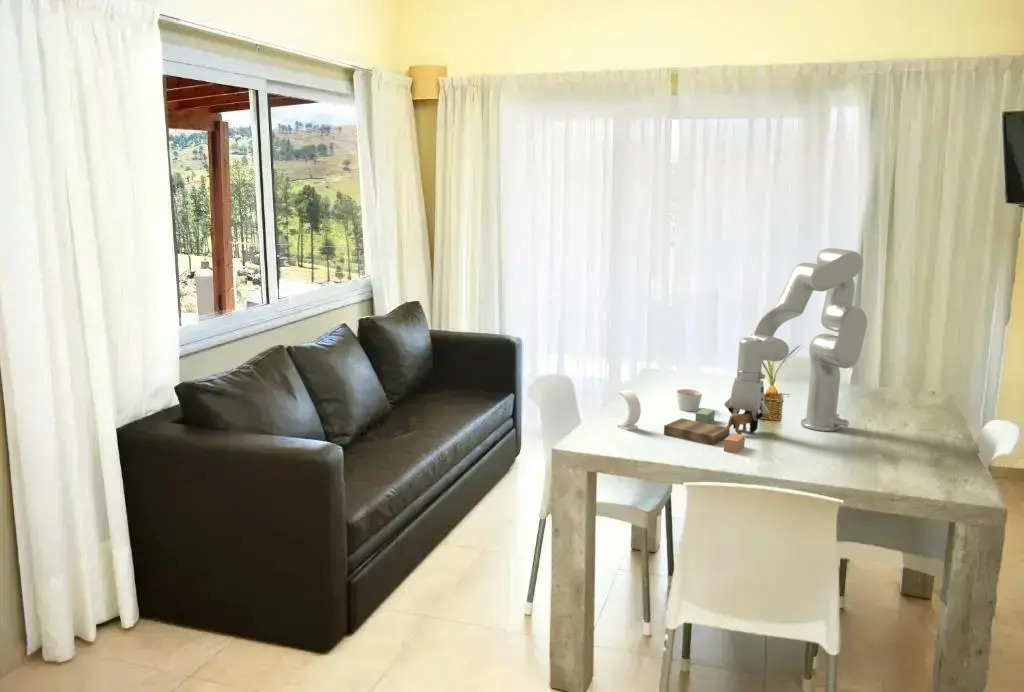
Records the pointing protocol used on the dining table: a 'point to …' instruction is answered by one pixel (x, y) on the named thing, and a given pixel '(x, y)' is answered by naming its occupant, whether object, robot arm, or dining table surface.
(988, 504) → the dining table surface
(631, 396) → the white crescent moon figurine
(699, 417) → the sage brick
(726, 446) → the terracotta brick
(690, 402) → the candle
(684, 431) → the walnut plinth
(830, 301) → the robot arm
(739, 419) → the lion figurine
